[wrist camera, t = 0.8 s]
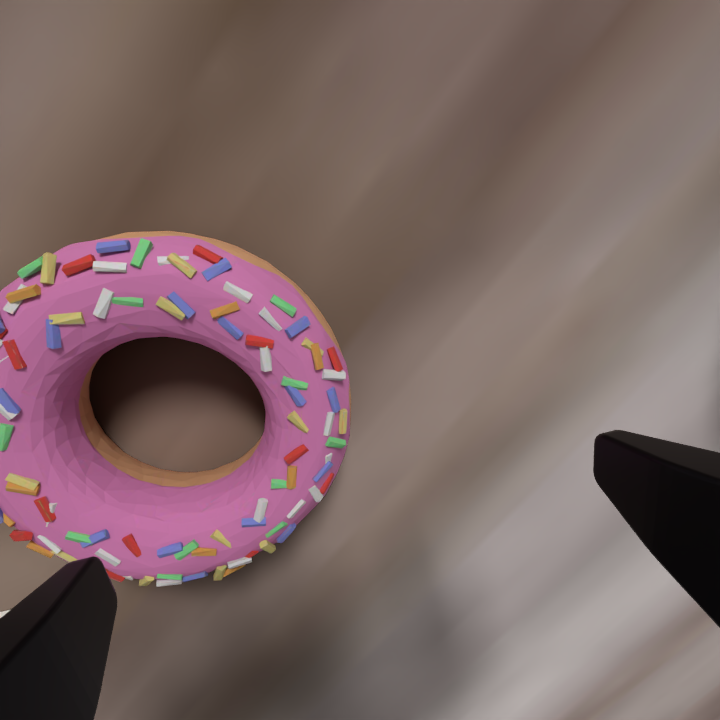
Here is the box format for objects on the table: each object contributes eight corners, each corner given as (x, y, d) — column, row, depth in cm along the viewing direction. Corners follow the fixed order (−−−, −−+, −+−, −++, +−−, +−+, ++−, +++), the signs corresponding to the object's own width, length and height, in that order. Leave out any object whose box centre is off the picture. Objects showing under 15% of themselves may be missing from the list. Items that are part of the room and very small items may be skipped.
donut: (388, 306, 21) (422, 332, 16) (279, 548, 24) (280, 630, 19) (55, 165, 17) (-31, 143, 12) (-27, 479, 19) (-122, 563, 15)
